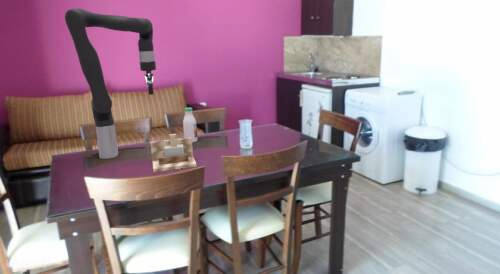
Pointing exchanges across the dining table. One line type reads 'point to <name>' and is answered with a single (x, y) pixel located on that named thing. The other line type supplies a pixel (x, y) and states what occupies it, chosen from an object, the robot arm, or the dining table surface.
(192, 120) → the milk bottle
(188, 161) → the woven pattern crate
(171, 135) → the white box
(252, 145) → the dining table surface
